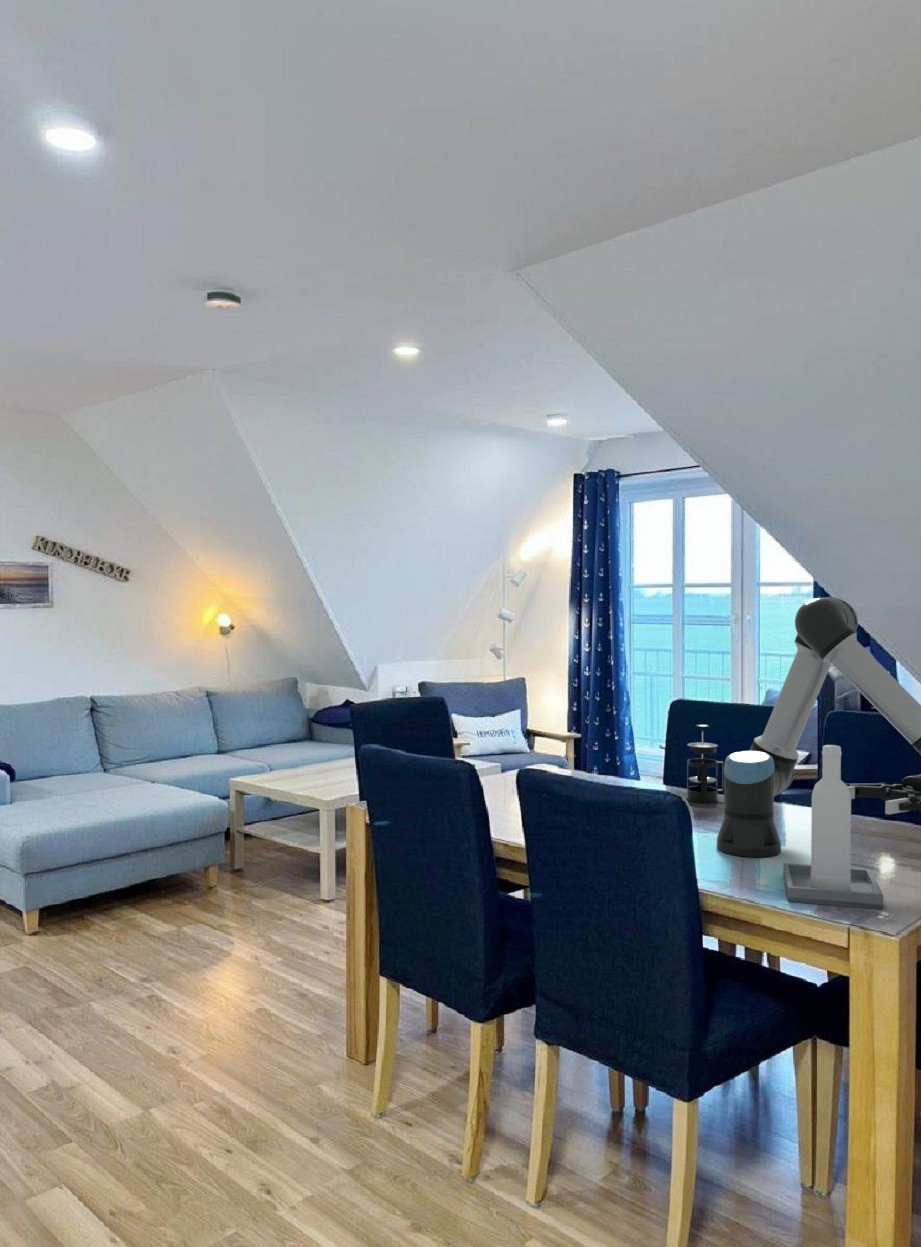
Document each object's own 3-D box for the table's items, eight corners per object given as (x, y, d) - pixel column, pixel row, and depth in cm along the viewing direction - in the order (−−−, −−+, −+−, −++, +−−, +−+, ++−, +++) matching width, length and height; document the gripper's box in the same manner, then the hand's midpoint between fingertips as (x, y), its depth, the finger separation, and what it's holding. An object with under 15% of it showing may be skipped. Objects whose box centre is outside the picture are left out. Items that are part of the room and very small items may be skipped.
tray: (787, 902, 195) (788, 887, 194) (783, 876, 212) (783, 863, 212) (883, 909, 190) (883, 894, 190) (870, 882, 207) (870, 869, 207)
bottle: (859, 891, 198) (860, 748, 197) (827, 894, 196) (828, 750, 195) (833, 880, 206) (835, 742, 205) (802, 883, 204) (803, 744, 202)
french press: (685, 803, 285) (686, 726, 284) (682, 796, 295) (682, 722, 294) (726, 803, 284) (726, 727, 283) (721, 797, 293) (721, 722, 292)
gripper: (974, 819, 205) (910, 831, 195) (875, 797, 227) (812, 806, 217) (975, 785, 205) (911, 795, 195) (875, 765, 227) (813, 774, 217)
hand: (859, 801), depth 206 cm, fingers open, 13 cm apart
